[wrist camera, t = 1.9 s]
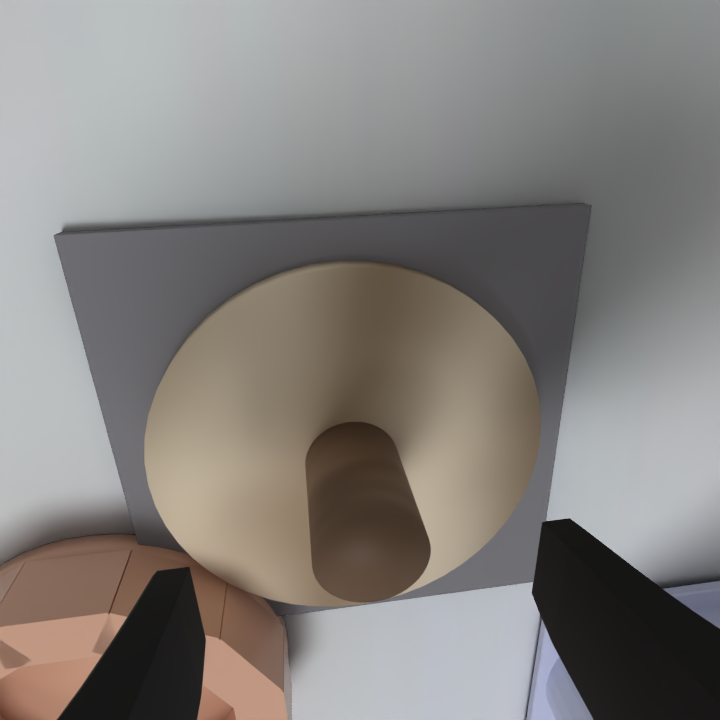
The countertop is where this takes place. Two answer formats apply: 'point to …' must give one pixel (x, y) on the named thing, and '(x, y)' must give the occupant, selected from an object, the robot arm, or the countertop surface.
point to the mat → (311, 246)
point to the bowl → (106, 616)
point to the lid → (341, 434)
